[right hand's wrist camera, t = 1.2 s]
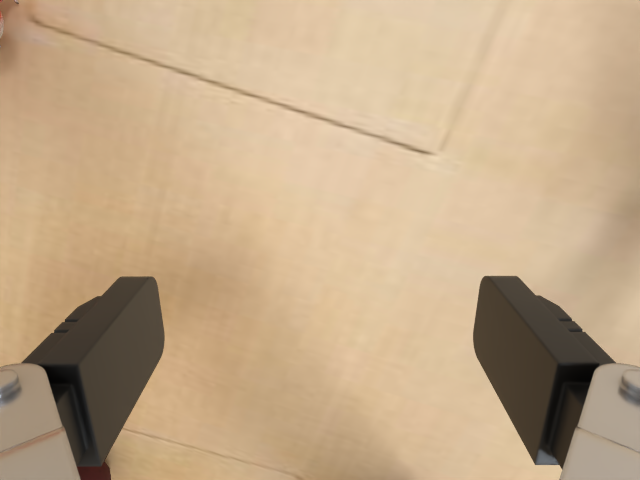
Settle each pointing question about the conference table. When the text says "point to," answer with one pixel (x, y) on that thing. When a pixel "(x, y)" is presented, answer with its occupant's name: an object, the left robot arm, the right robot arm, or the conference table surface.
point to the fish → (1, 22)
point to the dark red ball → (94, 473)
